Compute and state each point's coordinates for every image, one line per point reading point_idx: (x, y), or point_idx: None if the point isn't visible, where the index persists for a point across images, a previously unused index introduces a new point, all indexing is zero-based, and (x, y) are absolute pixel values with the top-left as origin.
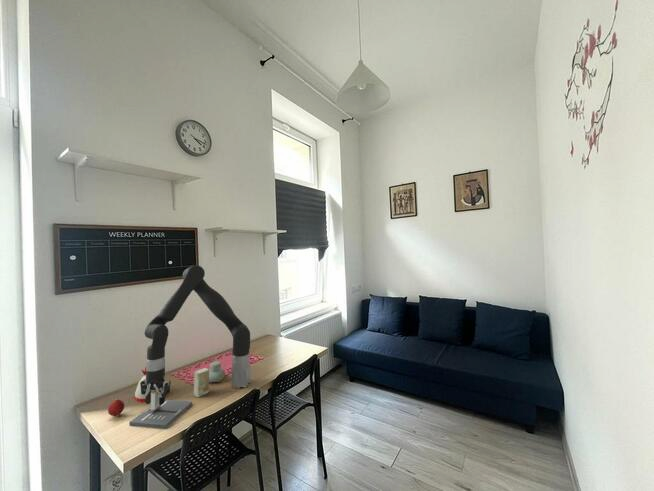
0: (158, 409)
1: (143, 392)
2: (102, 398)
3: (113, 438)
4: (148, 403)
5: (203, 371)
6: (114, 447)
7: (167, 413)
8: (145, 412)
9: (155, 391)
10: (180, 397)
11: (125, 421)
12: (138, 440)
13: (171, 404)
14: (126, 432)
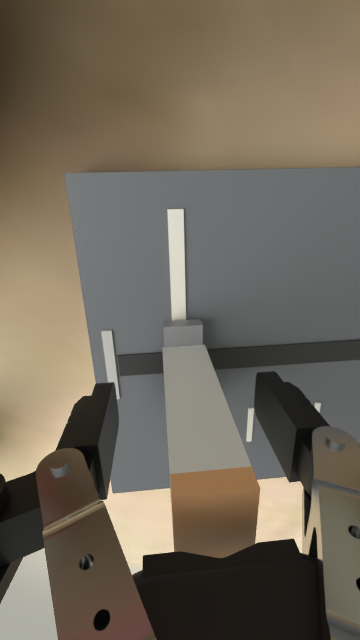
0: None
1: (14, 573)
2: None
3: (134, 548)
4: (118, 414)
5: None
6: None
7: (312, 373)
8: (124, 397)
9: (227, 547)
10: (223, 28)
11: (46, 451)
12: (272, 531)
13: (264, 254)
14: (157, 510)
